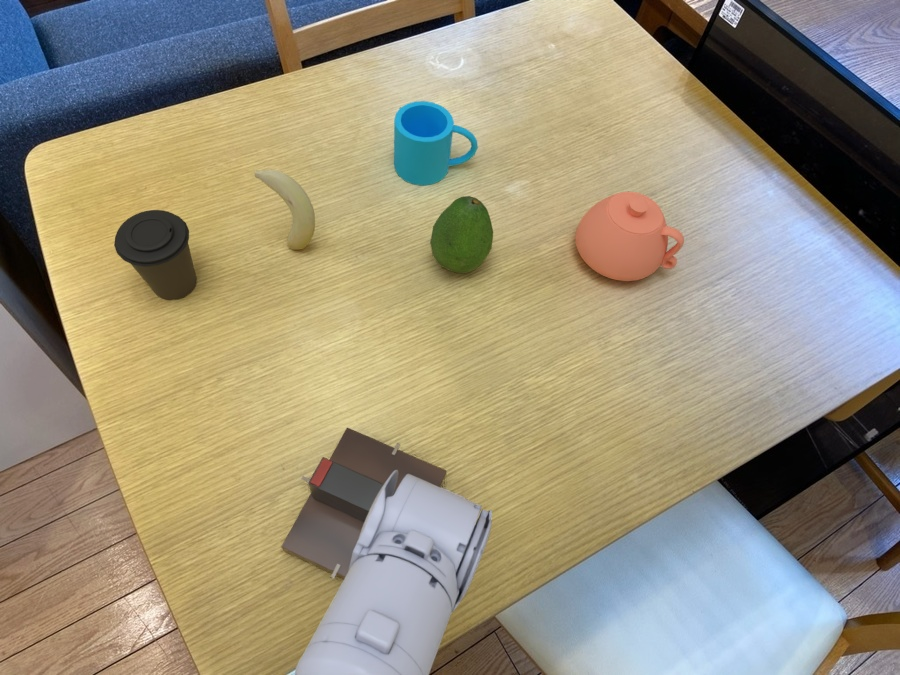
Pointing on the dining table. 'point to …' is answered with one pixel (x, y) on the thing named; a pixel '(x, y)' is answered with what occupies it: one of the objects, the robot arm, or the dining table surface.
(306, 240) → the fruit
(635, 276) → the sugar bowl
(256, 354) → the dining table surface
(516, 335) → the dining table surface
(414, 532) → the robot arm
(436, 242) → the fruit
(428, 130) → the mug
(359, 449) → the brown pegged board
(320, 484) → the gray bar
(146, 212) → the coffee cup
